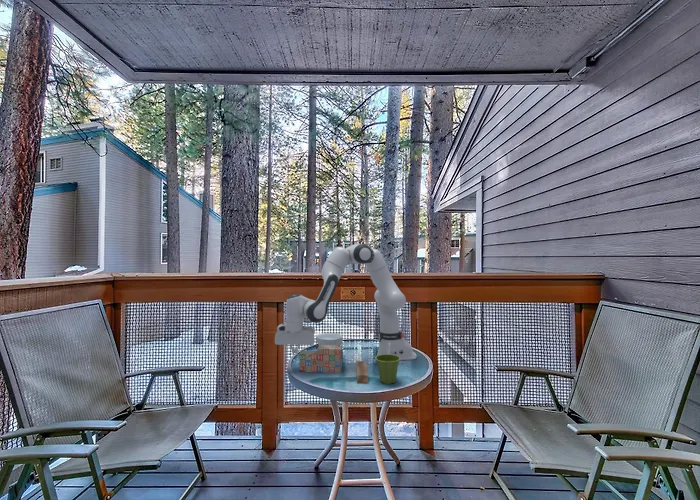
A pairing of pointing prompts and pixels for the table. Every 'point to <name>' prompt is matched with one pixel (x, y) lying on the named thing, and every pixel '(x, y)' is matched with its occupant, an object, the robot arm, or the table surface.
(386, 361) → the plant pot
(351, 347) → the table surface
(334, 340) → the cereal bowl
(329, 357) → the stack of blocks
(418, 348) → the table surface
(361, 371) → the board
